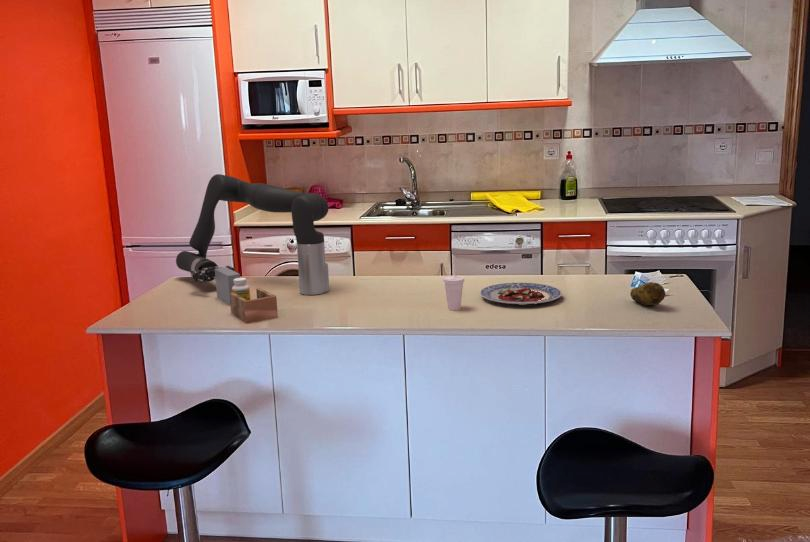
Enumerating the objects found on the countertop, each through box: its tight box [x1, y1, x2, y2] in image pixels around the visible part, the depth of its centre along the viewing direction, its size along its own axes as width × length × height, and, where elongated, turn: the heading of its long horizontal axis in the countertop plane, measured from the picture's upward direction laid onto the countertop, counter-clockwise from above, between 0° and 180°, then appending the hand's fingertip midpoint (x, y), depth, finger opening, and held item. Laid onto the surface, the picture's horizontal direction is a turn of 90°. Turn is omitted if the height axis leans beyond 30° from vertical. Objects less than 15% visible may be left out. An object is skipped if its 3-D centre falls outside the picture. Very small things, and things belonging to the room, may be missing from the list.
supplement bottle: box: [232, 277, 251, 300], centre depth 236 cm, size 5×5×10 cm
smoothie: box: [443, 263, 465, 311], centre depth 227 cm, size 6×6×14 cm
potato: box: [629, 282, 666, 306], centre depth 224 cm, size 8×13×8 cm, turn 176°
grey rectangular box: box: [214, 266, 241, 307], centre depth 246 cm, size 13×4×10 cm, turn 32°
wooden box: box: [229, 287, 279, 324], centre depth 228 cm, size 13×10×6 cm
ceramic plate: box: [479, 282, 563, 305], centre depth 238 cm, size 26×26×3 cm
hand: (219, 277), depth 252 cm, fingers open, 8 cm apart
